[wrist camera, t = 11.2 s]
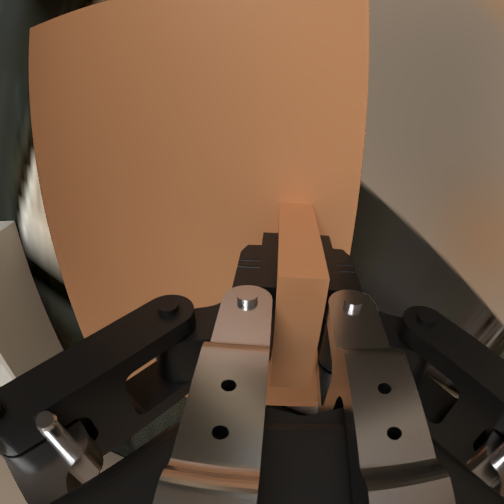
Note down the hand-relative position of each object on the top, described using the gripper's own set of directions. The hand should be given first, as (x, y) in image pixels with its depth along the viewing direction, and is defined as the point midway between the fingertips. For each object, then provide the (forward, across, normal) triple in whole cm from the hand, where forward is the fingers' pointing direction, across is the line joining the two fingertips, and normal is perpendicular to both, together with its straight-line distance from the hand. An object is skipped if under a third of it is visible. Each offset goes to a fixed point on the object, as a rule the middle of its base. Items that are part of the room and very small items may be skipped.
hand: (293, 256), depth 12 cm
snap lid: (+3, +4, 0) cm, 5 cm away
